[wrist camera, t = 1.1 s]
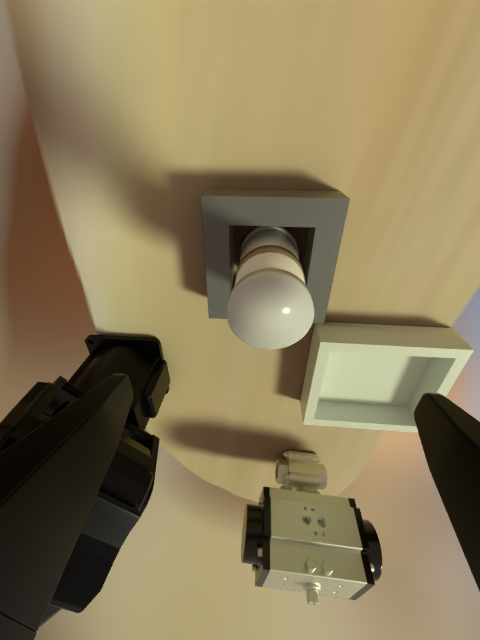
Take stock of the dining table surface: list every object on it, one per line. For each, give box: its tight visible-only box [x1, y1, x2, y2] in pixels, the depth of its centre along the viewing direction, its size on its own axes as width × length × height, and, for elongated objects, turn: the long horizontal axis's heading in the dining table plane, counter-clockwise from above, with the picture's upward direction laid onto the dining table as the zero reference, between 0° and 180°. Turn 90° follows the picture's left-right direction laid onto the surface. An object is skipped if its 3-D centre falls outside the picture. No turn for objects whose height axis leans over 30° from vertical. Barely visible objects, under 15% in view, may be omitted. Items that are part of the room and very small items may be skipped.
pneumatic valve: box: [241, 450, 382, 606], centre depth 27 cm, size 6×12×12 cm, turn 84°
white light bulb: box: [227, 226, 314, 349], centre depth 15 cm, size 4×4×8 cm
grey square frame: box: [201, 188, 350, 324], centre depth 18 cm, size 8×8×2 cm
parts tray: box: [300, 322, 474, 433], centre depth 23 cm, size 10×9×3 cm
